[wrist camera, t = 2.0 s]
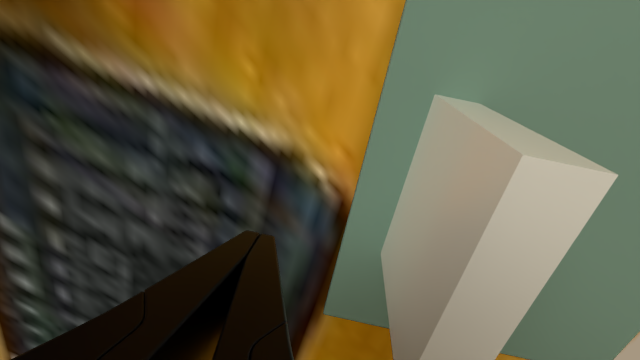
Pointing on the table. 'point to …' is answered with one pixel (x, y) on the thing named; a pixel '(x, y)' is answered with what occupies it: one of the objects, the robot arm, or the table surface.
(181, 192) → the table surface
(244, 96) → the table surface
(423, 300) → the block
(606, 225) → the mat
